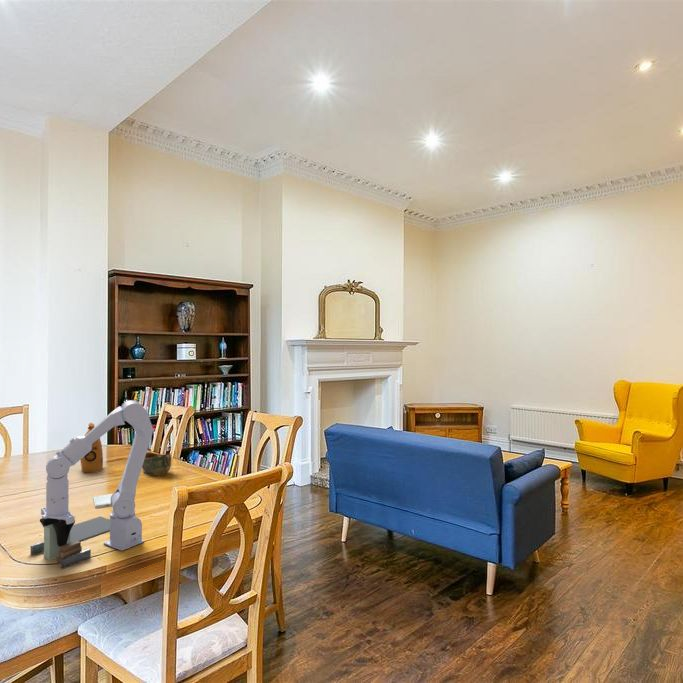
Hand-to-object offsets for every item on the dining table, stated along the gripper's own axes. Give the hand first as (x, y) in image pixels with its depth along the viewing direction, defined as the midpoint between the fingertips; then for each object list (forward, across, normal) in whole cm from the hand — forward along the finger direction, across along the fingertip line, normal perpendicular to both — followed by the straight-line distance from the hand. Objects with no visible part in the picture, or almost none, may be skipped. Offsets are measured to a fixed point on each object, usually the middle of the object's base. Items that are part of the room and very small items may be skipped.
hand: (57, 543), depth 145 cm
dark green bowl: (+4, -50, +72) cm, 88 cm away
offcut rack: (+3, +2, 0) cm, 4 cm away
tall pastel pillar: (+3, 0, 0) cm, 3 cm away
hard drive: (+4, -32, +36) cm, 48 cm away
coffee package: (+4, -80, +60) cm, 100 cm away
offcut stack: (+3, +7, 0) cm, 8 cm away
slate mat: (+3, -10, +16) cm, 19 cm away
